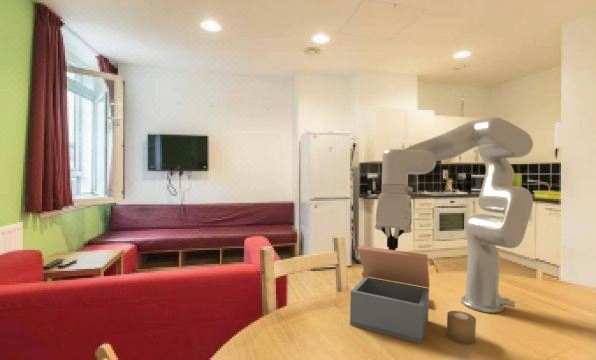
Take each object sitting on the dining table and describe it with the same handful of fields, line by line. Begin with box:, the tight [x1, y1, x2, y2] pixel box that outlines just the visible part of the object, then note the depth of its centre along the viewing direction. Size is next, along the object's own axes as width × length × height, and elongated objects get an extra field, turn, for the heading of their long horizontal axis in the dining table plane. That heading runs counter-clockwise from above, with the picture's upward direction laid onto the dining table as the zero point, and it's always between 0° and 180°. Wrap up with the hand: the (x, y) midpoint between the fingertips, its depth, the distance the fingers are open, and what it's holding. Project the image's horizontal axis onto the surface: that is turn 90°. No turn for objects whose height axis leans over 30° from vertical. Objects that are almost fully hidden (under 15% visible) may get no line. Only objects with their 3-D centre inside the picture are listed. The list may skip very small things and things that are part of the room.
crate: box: [349, 276, 430, 345], centre depth 93 cm, size 20×15×10 cm
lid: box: [357, 245, 430, 289], centre depth 96 cm, size 20×15×1 cm
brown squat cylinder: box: [446, 310, 477, 346], centre depth 86 cm, size 7×7×6 cm
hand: (392, 250), depth 94 cm, fingers closed
